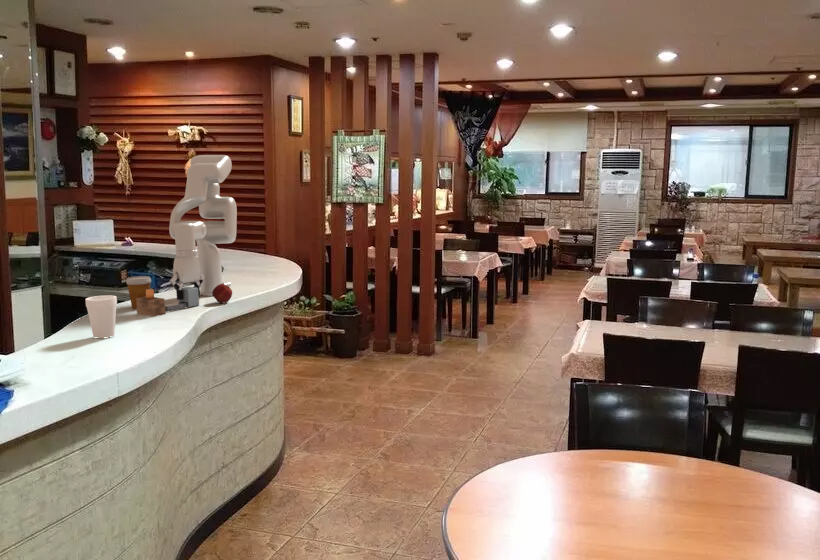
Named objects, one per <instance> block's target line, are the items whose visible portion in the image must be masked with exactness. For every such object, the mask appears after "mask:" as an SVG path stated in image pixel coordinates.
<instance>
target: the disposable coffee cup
mask: <svg viewBox="0 0 820 560" xmlns="http://www.w3.org/2000/svg"><path fill="white" fill-rule="evenodd" d="M125 283H126V284H127V289H128V294H129V299H130V304H131V308H132V309H134V310H137V302H136V298H140V297H146V290H147V289H151V283H152V279H151V277H150V276H149V275H148V276H147V275H136V276H131V277H130V276H129V277H127V278H126V281H125Z"/></svg>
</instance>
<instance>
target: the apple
mask: <svg viewBox="0 0 820 560" xmlns="http://www.w3.org/2000/svg"><path fill="white" fill-rule="evenodd" d="M212 295H213V296H212V297H213V298H214V299H215V301H216V302H217V303H220V304H226V303H228V302H229V301H230V299H231V298H232V295H233V290H232V289H231V286H230V287H228V286H227V285H225V284H219V285H217V286H216V287H215V288H214V289H213V292H212Z"/></svg>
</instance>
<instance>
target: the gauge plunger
mask: <svg viewBox="0 0 820 560" xmlns="http://www.w3.org/2000/svg"><path fill="white" fill-rule="evenodd" d="M154 292H155V290H154V289H153V288H150V289H147V290H146V299H148V300H150V299H154V297H155V293H154Z"/></svg>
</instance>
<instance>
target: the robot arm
mask: <svg viewBox="0 0 820 560" xmlns="http://www.w3.org/2000/svg"><path fill="white" fill-rule="evenodd" d="M232 164H233V163H232V160H231V158H230V157H229V156H228V155H225V154H201V155H200V154H199V155H195V156H193V157H192V158H190V166H189V167H188V172H187V177H186V178H187V179H186V186H185V192H184V197H183V198H182V199H180V200H179V201H178V202H177V203H176V205H175V206H174V207H173V209H172V211H171V213H170V220H169V227H168V228H169V235H170V237H171V238H172V239H174V240H175V255H176V257H174V260H173V268H172V269H173V271H172V274H173V275H172V277H171V278H170V280H169V284H170V285H171V286H172V287H173V288H174V290H175V293H176V299H177V300H178V301H179V300H183V299H184V298H183V290H181V289H182V288H184V284H190V283H192V284H193V286H192V287H194V288H198V295H199V298H200V297H201V296H200V295H203V296H204V297H211V296H212V297H213V295H212V292H213V289H214V288H215V287H216V286H217V285H219V284H225V285H227V286H228V287H230V288H231V282H223V270H222V254H221V251H220V249H219V248H218V247H217V245H216V244H218V245H219V244H232V243H234V242H235V241H236V240H237V239H236V238H237V229H238V228H237V218H238V217H237V216H238V215H237V214H238V213H237V211H238V209H237V203H236V201H235V198H233V197H231V196H221V195H220V188H221V187H220V184H221V183H223V182H224V181H225V180H226V179H227V177H228V176H229V175H230V173H231V171H232V167H233V166H232ZM197 207H198V211H199V215H200V217H201V218H202V219H207V220H208V219H209V220H211V219H212V220H213V219H214V220H215V219H217V220H221V219H223V220H224V221H216V220H215V221H214V220H213V221H212V220H211V221H200V220H181V218H182V217H183V216H184V215H185V213H187V212H188V211H191V210H192V209H194V208H197ZM196 246H197V249H196ZM197 255H198V256H197ZM203 296H202V297H203Z"/></svg>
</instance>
